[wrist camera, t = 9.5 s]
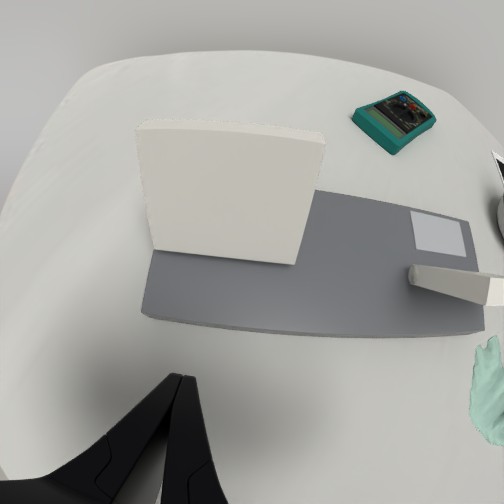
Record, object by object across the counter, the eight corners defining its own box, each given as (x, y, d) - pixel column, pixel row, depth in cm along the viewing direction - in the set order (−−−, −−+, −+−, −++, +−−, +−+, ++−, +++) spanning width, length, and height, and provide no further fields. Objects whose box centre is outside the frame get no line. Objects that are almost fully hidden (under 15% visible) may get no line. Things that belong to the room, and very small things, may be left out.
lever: (479, 288, 21) (548, 304, 11) (407, 282, 20) (485, 305, 11) (481, 272, 21) (551, 284, 11) (409, 263, 20) (490, 277, 11)
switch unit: (468, 334, 21) (485, 329, 19) (150, 317, 21) (140, 311, 19) (456, 231, 26) (469, 221, 24) (178, 191, 26) (173, 174, 23)
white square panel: (293, 269, 20) (325, 143, 13) (155, 254, 20) (135, 129, 13) (292, 253, 21) (321, 133, 14) (161, 239, 21) (146, 119, 14)
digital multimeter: (432, 128, 34) (440, 115, 31) (390, 159, 30) (400, 144, 27) (398, 99, 36) (404, 86, 33) (348, 122, 32) (354, 106, 29)
